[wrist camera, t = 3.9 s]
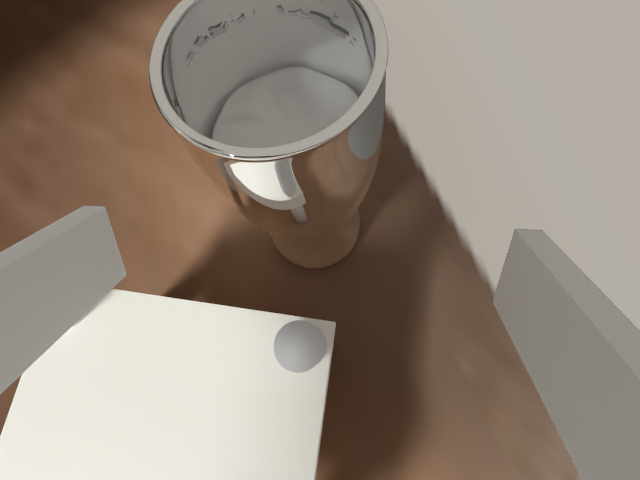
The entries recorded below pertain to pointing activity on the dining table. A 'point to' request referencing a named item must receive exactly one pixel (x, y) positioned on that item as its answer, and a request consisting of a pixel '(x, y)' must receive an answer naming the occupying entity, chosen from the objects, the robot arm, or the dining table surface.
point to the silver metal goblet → (279, 111)
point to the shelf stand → (172, 395)
